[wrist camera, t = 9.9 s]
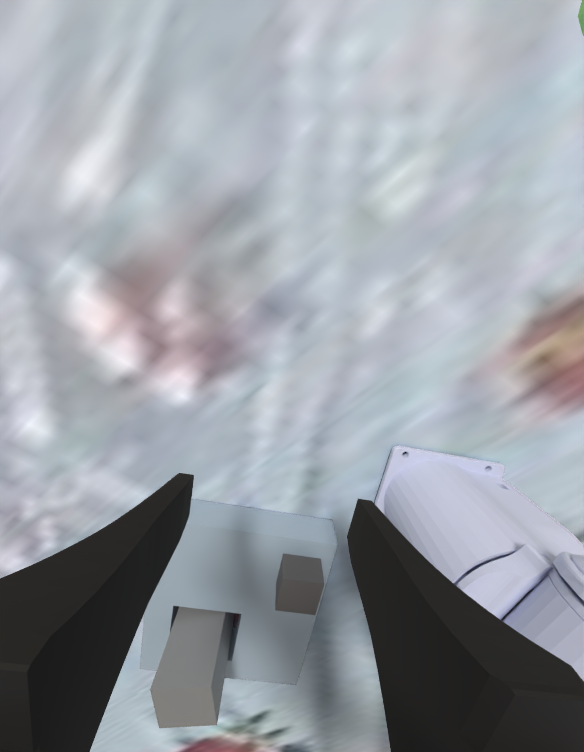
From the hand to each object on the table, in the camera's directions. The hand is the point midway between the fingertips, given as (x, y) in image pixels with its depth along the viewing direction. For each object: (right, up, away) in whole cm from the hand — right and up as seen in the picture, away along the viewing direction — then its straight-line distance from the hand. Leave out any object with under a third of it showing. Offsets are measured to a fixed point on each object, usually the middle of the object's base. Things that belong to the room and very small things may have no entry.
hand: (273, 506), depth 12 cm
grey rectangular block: (-7, -15, +14) cm, 21 cm away
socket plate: (-4, -13, +13) cm, 19 cm away
